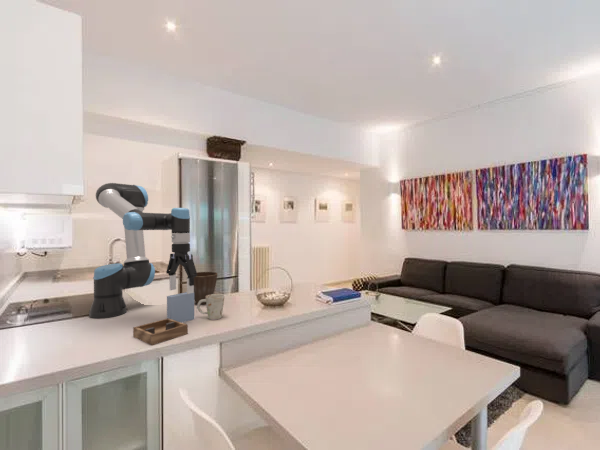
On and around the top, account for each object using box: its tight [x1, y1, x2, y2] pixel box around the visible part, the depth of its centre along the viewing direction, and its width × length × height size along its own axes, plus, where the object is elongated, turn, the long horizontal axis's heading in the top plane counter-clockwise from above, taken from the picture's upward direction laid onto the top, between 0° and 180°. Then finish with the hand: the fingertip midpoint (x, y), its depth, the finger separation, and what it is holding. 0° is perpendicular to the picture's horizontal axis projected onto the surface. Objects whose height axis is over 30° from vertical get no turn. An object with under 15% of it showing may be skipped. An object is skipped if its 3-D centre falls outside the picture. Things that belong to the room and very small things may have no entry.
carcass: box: [132, 317, 189, 346], centre depth 115 cm, size 14×14×4 cm
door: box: [166, 291, 195, 323], centre depth 132 cm, size 4×11×12 cm, turn 143°
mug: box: [196, 293, 225, 321], centre depth 137 cm, size 8×13×10 cm, turn 89°
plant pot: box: [194, 271, 218, 306], centre depth 163 cm, size 15×15×16 cm
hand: (181, 291), depth 131 cm, fingers open, 13 cm apart
